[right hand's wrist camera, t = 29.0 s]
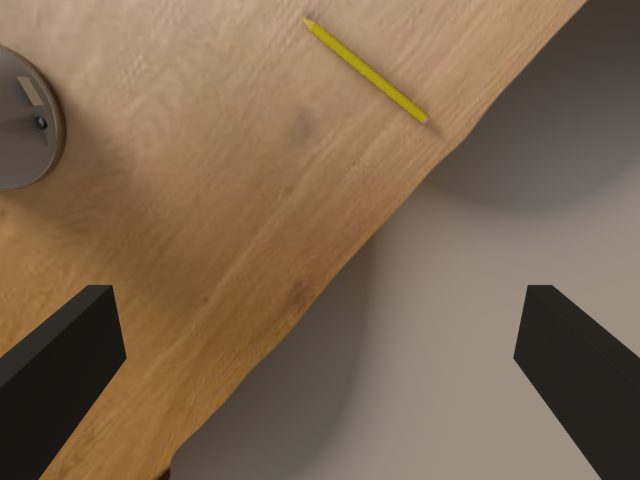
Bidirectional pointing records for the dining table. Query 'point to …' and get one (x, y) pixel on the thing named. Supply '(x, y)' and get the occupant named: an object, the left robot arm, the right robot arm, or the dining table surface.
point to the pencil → (365, 70)
